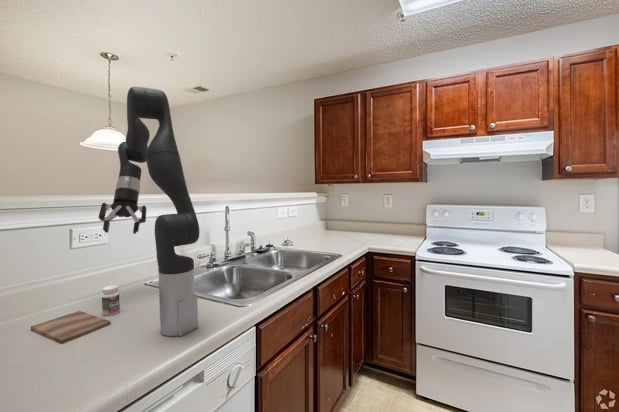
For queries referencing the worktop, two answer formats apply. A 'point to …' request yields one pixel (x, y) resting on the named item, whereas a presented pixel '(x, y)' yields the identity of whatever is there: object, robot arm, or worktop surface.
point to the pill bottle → (110, 300)
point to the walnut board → (70, 326)
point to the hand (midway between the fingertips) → (120, 232)
